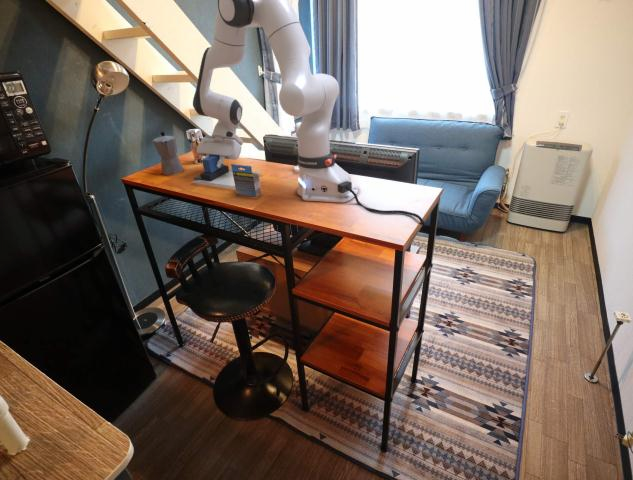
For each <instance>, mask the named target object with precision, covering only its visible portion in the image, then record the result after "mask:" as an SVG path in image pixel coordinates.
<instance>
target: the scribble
mask: <svg viewBox="0 0 633 480" xmlns="http://www.w3.org/2000/svg"><path fill="white" fill-rule="evenodd" d="M193 179H194V180H201V176H200V174H198V175H197V176H195V177H193Z"/></svg>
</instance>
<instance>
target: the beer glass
mask: <svg viewBox="0 0 633 480" xmlns="http://www.w3.org/2000/svg"><path fill="white" fill-rule="evenodd" d="M185 133H186V139H187V142H188V146H189V148H190V150H191V153H192V156H193V163H194V164H196V165H200V164H203V163H202V159H204V158H206V157H205V156H201V155H199V154H198V153H197V148H198V145H199V143H200V142H201V140H202V139H203V137H204V136H203V133H202V130H201V128H192V129H187V130H186V131H185Z"/></svg>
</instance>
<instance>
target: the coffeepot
mask: <svg viewBox="0 0 633 480" xmlns="http://www.w3.org/2000/svg"><path fill="white" fill-rule="evenodd" d="M152 143H153V145H154V146H155V149H156V151H157V155H159V156H160V158H161V159H160V163H161V164H160V165H161V173H162V175H163V176H173V175H176V174H180V173H183V172H184V167H183V164H182V162H181V160H180V158H179V156H178V155H177V153H178V146H177V138H176V136H173V135H165V131H161V132H160V136H158V137H155V138H154V139H153V140H152Z"/></svg>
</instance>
